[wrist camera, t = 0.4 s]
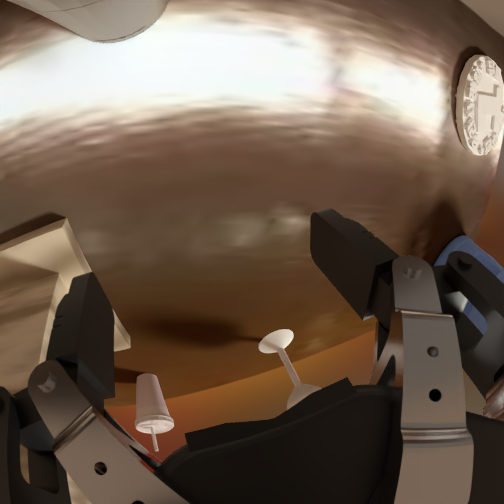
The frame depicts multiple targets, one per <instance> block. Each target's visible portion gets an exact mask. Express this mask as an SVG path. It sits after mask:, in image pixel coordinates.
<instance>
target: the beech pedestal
mask: <svg viewBox="0 0 504 504" xmlns="http://www.w3.org/2000/svg"><path fill="white" fill-rule="evenodd" d="M89 272H92V271H91V269H90V267H89V265H88V263H87V261H86V259H85V257H84V255H83V253H82V251H81V249H80V247H79V245H78V242H77V240H76V238H75V236H74V234H73V231H72V229H71V227H70V225H69V222H68V220H67V218H65V219H62V220H59V221H57V222H54V223H51V224H49V225H46V226H44V227H41V228H39V229H36V230H34V231H31V232H29V233H26V234H24V235H21V236H19V237H17V238H14V239H12V240H10V241H7V242H5V243H3V244H1V245H0V386H2V387H4V388H6V389H7V390H8V391H9V392H10V393H11V394H12V395H13V394H15V393H17V392H19V391H21V390H23V389H25V388H26V387H28V380H29V377H30V374H31V373H32V371H33V370H34V369H35V367H36V366H38V365H39V364H40V363H42V362H44V361H45V360H46V355H47V349H48V344H49V339H50V335H51V330H52V329H53V327H52V326H53V321H54V319H55V313H56V309H57V306H58V304H59V303H60V301H61V300H62V298H63V296H64V295H65V294H68V292H69V289H70V285H71V281H72V279H73V277H76V276H79V275H83V274H86V273H89ZM113 313H114V318H115V326H114V352H115V351H119V350H124V349H128V348H131V346H130V336H129V335H128V333H127V332H126V330H125V328H124V327H123V325H122V324H121V322H120V320H119V319H118V317H117V315H116V314H115V312H114V310H113ZM20 464H21V473H22V475H23V477H24V479H25V480H26V481H27V482H28V483H29V484H30V482H29V470H28V451H27V448H25V447H23V446H22V445H20ZM66 472H67V471H66ZM67 479H68V486H69V492H70V497H71V503H72V504H92V503H91V502H90V501H89V500H88V499H87V497H86V496H85V495H84V494H83V492H82V491H81V490H80V489H79V487H78V486H77V485H76V484H75V482H74V481H73V480H72V478H71V477H70V476H69V474H68V473H67Z"/></svg>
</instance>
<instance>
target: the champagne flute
mask: <svg viewBox="0 0 504 504" xmlns="http://www.w3.org/2000/svg"><path fill="white" fill-rule="evenodd" d="M293 336H294V335H293V332H292V331H291V330H288V329H281V330H277V331H274V332H272V333H270V334H268V335H267V336H265V337H264V338H263V339H262V340H261V342H260V343H259V350H260V351H261V352H263V353H274V352H278V354H279V356H280V358H281V360H282V362H283V364H284V366H285V368H286V370H287V371H288V374H289V376H290V378H291V380H292V381H293V384H294V386H295V388H294V389H293V391H292V393H291V395H290V397H289V399H288V403H287V410H288V409H289V408H291V407H292V406H294V405H295V404H297V403H298V402H300V401H301V400H302V399H304V398H305V397H306V396H308V395H309V394H311V393H313V392H315V391H318V390H320V389H322V388H320V387H317V386H314V385H308V384H302V383H301V381H300V380H299V378H298V376H297V374H296V372H295V370H294V368H293V366H292V364H291V362H290V360H289V358H288V356H287V354H286V352H285V350H284V348H285V347H286V346H287V345H288V344H289V343H290V342H291V341H292V339H293Z"/></svg>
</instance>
